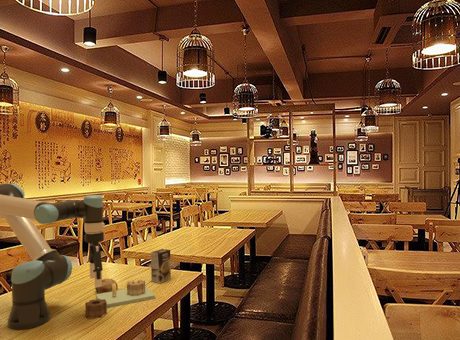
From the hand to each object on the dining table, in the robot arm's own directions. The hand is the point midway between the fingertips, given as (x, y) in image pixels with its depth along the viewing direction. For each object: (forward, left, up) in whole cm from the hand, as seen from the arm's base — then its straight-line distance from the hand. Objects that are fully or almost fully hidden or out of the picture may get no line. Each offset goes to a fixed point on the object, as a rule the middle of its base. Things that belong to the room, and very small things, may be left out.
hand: (95, 282), depth 159 cm
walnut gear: (0, 0, -14) cm, 14 cm away
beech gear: (+20, +13, -12) cm, 27 cm away
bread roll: (+9, +28, -14) cm, 33 cm away
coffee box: (+38, +30, -14) cm, 50 cm away
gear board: (+15, +13, -14) cm, 24 cm away
